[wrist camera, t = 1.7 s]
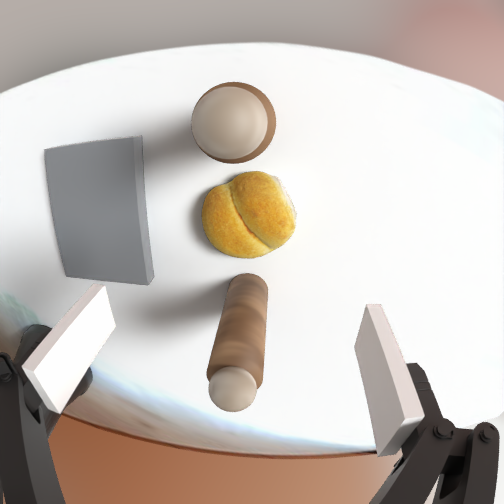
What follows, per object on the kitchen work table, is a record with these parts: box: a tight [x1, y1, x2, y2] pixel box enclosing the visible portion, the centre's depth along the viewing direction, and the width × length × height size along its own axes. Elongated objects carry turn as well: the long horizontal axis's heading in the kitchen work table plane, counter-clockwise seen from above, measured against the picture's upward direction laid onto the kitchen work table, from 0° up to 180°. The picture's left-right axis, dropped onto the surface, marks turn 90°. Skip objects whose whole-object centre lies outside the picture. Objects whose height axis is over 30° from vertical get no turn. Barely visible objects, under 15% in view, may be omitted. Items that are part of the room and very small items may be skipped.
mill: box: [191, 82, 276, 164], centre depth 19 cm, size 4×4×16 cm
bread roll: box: [202, 171, 296, 258], centre depth 29 cm, size 8×9×4 cm
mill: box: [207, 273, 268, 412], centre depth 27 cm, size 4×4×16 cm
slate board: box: [44, 136, 154, 285], centre depth 30 cm, size 12×16×2 cm
